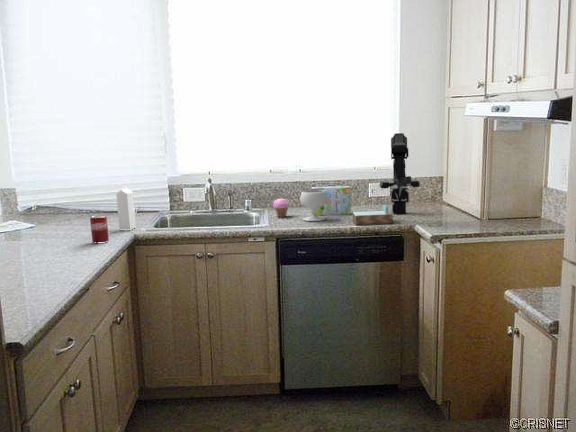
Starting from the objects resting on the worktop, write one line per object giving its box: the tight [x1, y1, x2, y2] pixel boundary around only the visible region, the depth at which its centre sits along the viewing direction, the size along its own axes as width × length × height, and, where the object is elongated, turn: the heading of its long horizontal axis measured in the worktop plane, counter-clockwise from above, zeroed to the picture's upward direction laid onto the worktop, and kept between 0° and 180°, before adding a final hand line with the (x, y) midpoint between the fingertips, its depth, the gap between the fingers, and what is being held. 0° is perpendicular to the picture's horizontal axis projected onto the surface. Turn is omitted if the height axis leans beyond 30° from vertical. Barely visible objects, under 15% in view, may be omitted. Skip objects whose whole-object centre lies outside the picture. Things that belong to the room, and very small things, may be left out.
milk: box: [115, 185, 137, 230], centre depth 297 cm, size 6×6×22 cm
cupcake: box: [272, 198, 290, 218], centre depth 318 cm, size 9×9×10 cm
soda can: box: [89, 214, 110, 243], centre depth 269 cm, size 7×7×12 cm
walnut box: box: [352, 210, 394, 226], centre depth 292 cm, size 18×12×5 cm, turn 91°
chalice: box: [299, 189, 327, 222], centre depth 305 cm, size 14×14×15 cm
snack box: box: [310, 185, 352, 216], centre depth 319 cm, size 21×6×15 cm, turn 84°
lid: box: [352, 204, 391, 217], centre depth 291 cm, size 17×10×4 cm, turn 91°
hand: (399, 201), depth 291 cm, fingers closed
